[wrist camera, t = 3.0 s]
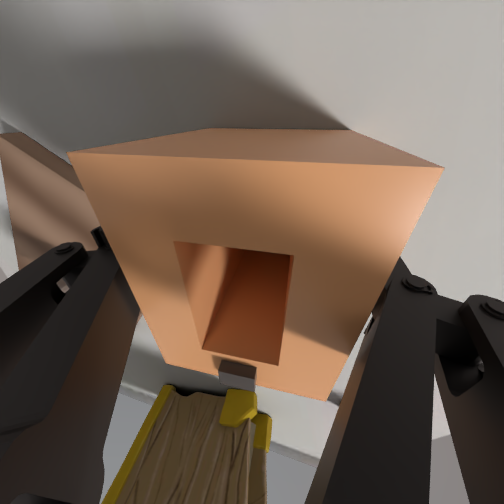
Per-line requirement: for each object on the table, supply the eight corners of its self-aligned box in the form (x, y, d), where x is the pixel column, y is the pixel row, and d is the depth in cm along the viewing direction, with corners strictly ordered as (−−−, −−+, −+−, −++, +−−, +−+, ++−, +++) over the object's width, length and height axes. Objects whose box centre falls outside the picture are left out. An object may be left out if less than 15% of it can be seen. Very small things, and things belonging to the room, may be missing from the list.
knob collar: (208, 128, 12) (44, 155, 4) (350, 129, 11) (462, 175, 3) (222, 261, 18) (160, 373, 10) (316, 273, 16) (326, 415, 9)
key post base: (21, 132, 15) (-218, 149, 8) (184, 242, 18) (107, 325, 11) (34, 277, 26) (-61, 335, 19) (132, 331, 29) (78, 399, 22)
